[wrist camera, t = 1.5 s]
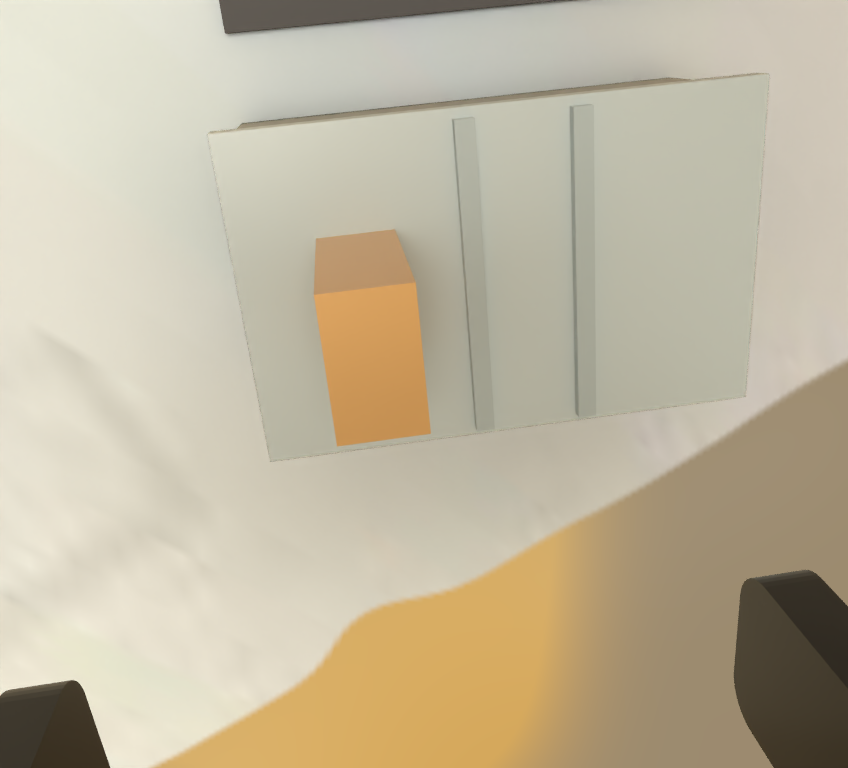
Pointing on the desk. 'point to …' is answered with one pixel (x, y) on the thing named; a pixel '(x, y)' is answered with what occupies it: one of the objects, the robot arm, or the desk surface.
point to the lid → (495, 261)
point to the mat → (335, 11)
